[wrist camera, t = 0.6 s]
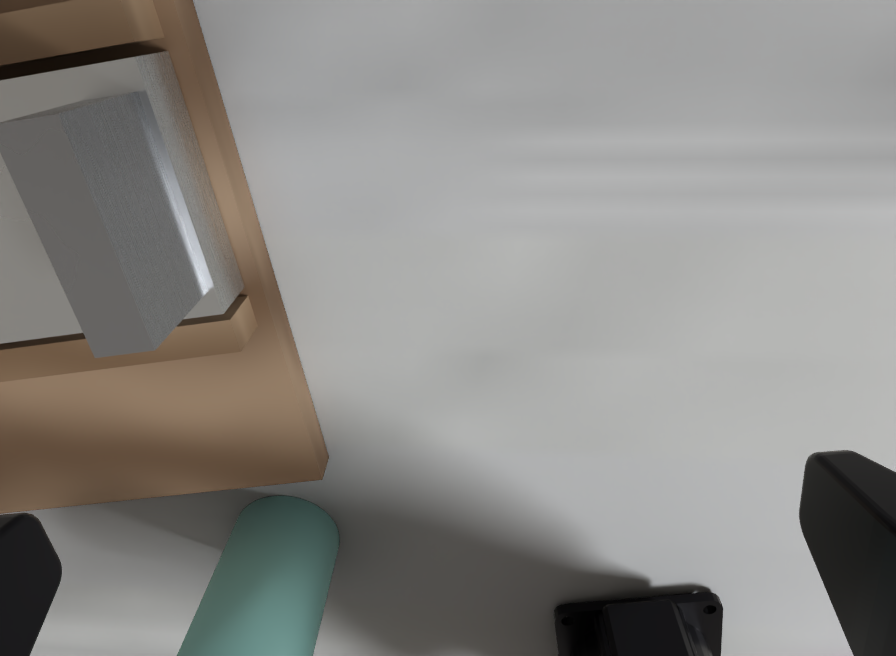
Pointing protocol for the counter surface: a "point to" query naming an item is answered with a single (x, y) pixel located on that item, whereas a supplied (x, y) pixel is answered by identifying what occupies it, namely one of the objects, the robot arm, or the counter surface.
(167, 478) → the housing board
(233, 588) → the teal peg
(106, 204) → the cover slide
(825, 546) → the robot arm
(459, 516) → the counter surface
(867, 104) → the counter surface
